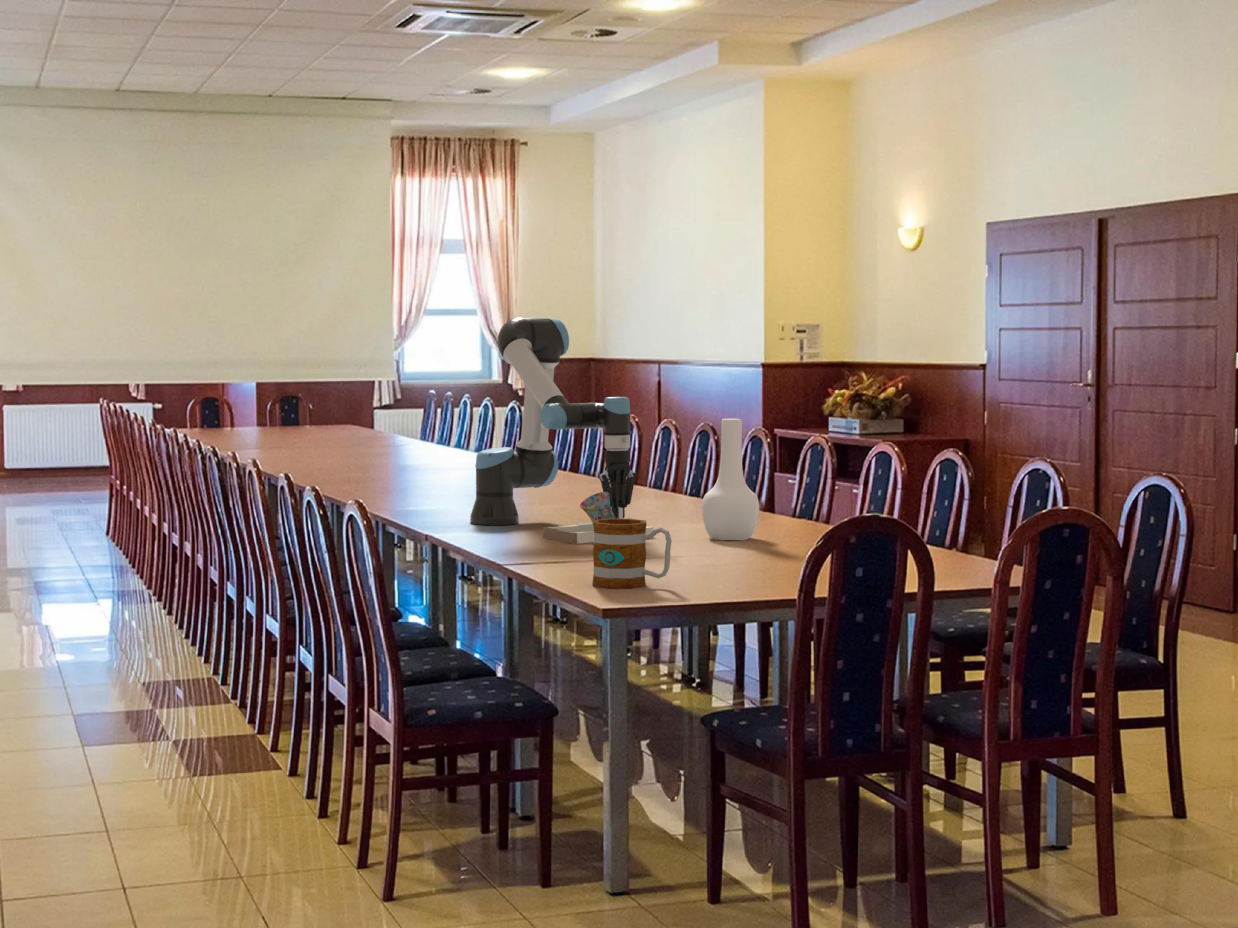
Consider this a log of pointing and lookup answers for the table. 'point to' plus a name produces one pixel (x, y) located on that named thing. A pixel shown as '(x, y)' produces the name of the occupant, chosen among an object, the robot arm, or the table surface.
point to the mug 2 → (623, 553)
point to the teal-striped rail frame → (575, 533)
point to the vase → (730, 491)
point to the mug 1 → (598, 506)
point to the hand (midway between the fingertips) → (618, 529)
